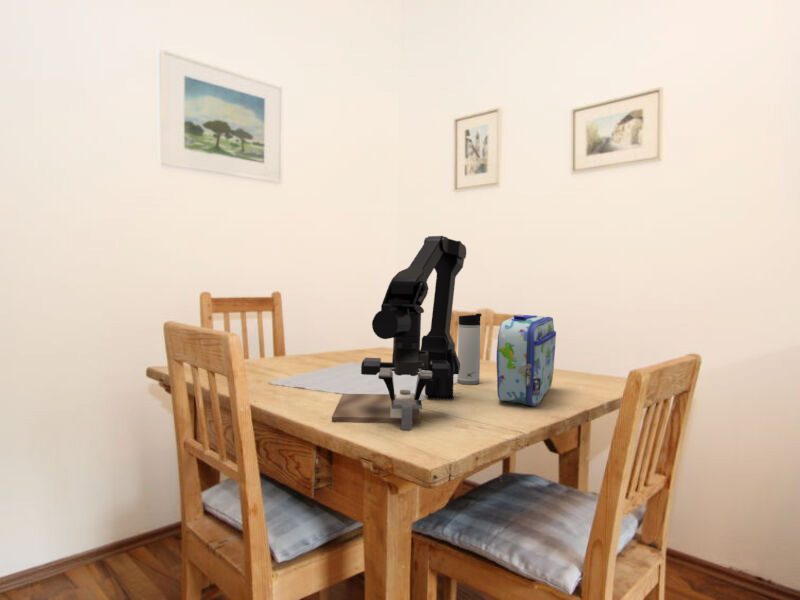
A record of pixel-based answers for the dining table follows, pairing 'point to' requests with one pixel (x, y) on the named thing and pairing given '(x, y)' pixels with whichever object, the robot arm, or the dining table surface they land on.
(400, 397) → the cream link
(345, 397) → the walnut board
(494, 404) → the dining table surface
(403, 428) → the metal keeper
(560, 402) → the dining table surface
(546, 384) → the lunch box
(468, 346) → the travel mug
